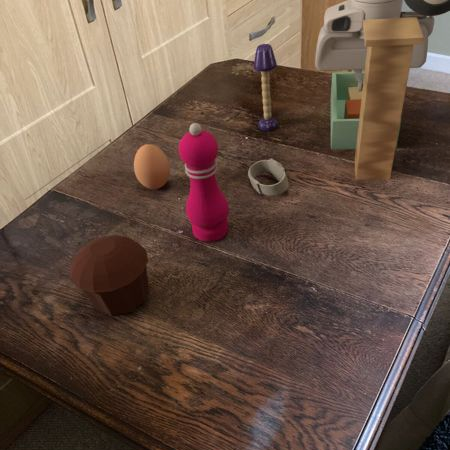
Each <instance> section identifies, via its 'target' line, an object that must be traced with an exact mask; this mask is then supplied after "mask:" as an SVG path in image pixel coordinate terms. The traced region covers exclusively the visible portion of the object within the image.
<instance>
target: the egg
mask: <svg viewBox="0 0 450 450" xmlns="http://www.w3.org/2000/svg"><path fill="white" fill-rule="evenodd" d="M133 171H134V174H135V177H136V179H137V180H138V182H139V183H140V184H141V185H142V186H143V187H145V188H146V189H149V190H158V189H161V188H162V187H164V186H165V185H166V183H168V181H169V178H170V176H171V164H170V162H169V159H168V157H167V155H166V154H165V153H164V151H163V150H162V149H161V148H160V147H159V146H157V145H156V144H152V143H146V144H143V145H142V146H140V147H139V148H138V149H137V151H136V153H135V156H134V160H133Z"/></svg>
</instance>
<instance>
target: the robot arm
mask: <svg viewBox="0 0 450 450" xmlns="http://www.w3.org/2000/svg"><path fill="white" fill-rule="evenodd" d="M403 3H405V4H406V6H407V7H408V8H409V9H410V10H411V11H402V9H403ZM449 12H450V0H345V1H342V2H340V3H337V4H335V5H332V6H329V7H328V8H326V10H325V12H324V16H323V26H322V27H321V28H320V30H319V33H318V38H317V42H316V49H315V59H314V67H315V68H316V70H317V71H319V72H331V71H332V72H338V71H353V72H354V75H355V77H356V79H357V81H358V92H362V91H363V82H364V79H362V78H361V76H360V75H362V71H365V64H366V55H367V47H365V42H364V34H363V20H371V19H390V18H409V17H417V18H418V21H419V25H420V28H421V31H422V34H423V37H424V39H423V44H420V45H414V47H413V52H412V58H411V64H410V69H420V68H422V67H423V66H424V65H425V64H426V62H427V57H428V52H429V51H428V50H429V37H430V36H431V35H432V34H433V31H434V26H435V17H436V16H441V15H443V14H447V13H449Z"/></svg>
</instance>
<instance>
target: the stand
mask: <svg viewBox="0 0 450 450" xmlns="http://www.w3.org/2000/svg"><path fill="white" fill-rule="evenodd" d="M363 34H364V42H365V47H367V55H366V64H365V70H364V71H365V73H364V82H363V91H362V100H361V109H360V118H359V127H358V135H357V144H356V149H355V155H354V174H355V180H356V181H360V180H361V181H372V180H373V181H376V180H377V181H380V180H381V181H385V180H386V181H390V180H391V175H392V170H393V164H394V158H395V152H396V149H397V146H396V142H397V143H398V141H397V137H398V138H399V135H398V131H399V132H400V130H399V126H400V127H401V124H400V120H401V121H402V114H403V107H404V102H405V97H406V91H407V86H408V81H409V76H410V75H409V74H410V69H411V68H410V64H411V58H412V52H413V47H414V45H420V44H423V39H424V37H423V34H422V31H421V28H420V25H419V21H418V18H417V17H409V18H390V19H371V20H363ZM395 148H396V149H395Z"/></svg>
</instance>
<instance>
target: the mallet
mask: <svg viewBox="0 0 450 450" xmlns="http://www.w3.org/2000/svg"><path fill="white" fill-rule="evenodd" d="M361 100H362V92H358V87H348V93H347V100H346V101H345V112H344V119H359V118H360V109H361Z"/></svg>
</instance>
